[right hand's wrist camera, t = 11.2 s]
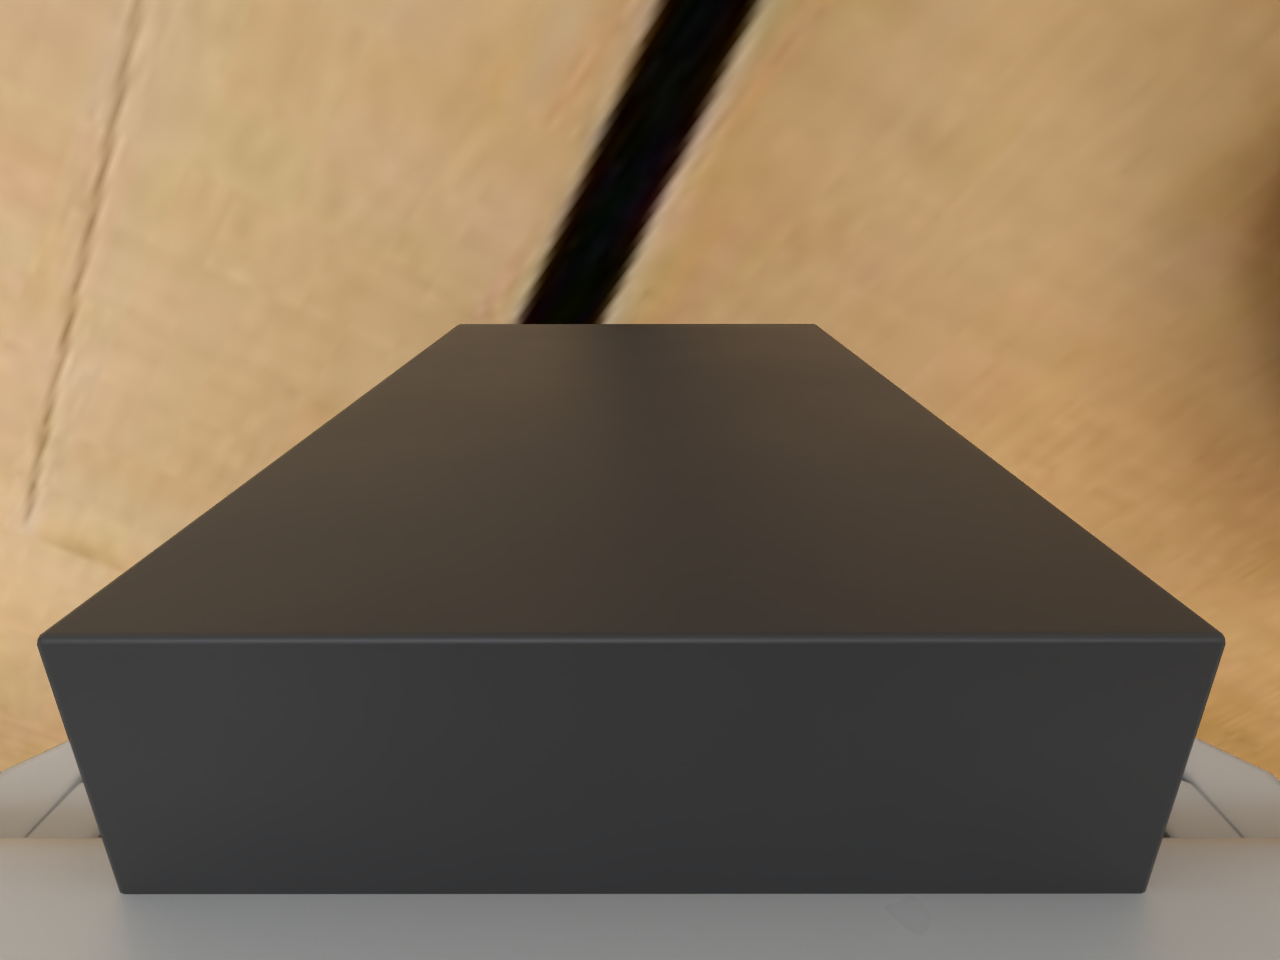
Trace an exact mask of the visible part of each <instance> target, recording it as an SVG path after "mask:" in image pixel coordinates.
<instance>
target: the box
mask: <svg viewBox="0 0 1280 960" xmlns="http://www.w3.org/2000/svg"><path fill="white" fill-rule="evenodd" d="M37 646H38V649H39V652H40V655H41V658H42V661H43V664H44V667H45V670H46V673H47V676H48V679H49V682H50V685H51V688H52V691H53V694H54V697H55V700H56V703H57V706H58V709H59V712H60V715H61V718H62V721H63V724H64V727H65V730H66V733H67V736H68V739H69V742H70V745H71V748H72V751H73V754H74V757H75V760H76V763H77V766H78V769H79V772H80V775H81V778H82V781H83V784H84V787H85V790H86V793H87V796H88V799H89V802H90V805H91V808H92V811H93V814H94V817H95V820H96V823H97V825H98V828H99V831H100V834H101V837H102V840H103V843H104V846H105V849H106V852H107V855H108V858H109V861H110V864H111V867H112V870H113V873H114V876H115V879H116V882H117V885H118V888H119V891H120V893H123V894H1141V893H1144V892H1145V891H1146V888H1147V885H1148V882H1149V879H1150V876H1151V873H1152V870H1153V867H1154V863H1155V860H1156V857H1157V854H1158V851H1159V848H1160V845H1161V842H1162V839H1163V836H1164V832H1165V829H1166V826H1167V823H1168V820H1169V817H1170V814H1171V811H1172V808H1173V805H1174V802H1175V798H1176V795H1177V792H1178V789H1179V786H1180V783H1181V780H1182V777H1183V774H1184V771H1185V767H1186V764H1187V761H1188V758H1189V755H1190V752H1191V749H1192V746H1193V743H1194V740H1195V737H1196V733H1197V730H1198V727H1199V724H1200V721H1201V718H1202V715H1203V712H1204V709H1205V706H1206V702H1207V699H1208V696H1209V693H1210V690H1211V687H1212V684H1213V681H1214V678H1215V675H1216V672H1217V668H1218V665H1219V662H1220V659H1221V656H1222V653H1223V650H1224V647H1225V638H1224V636H1223V634H1222V633H1221V632H1219V631H1218V630H1217V629H1215V628H1214V627H1213V626H1211V625H1210V624H1209V623H1207V622H1206V621H1205V620H1203V619H1202V618H1201V617H1200V616H1198V615H1197V614H1196V613H1194V612H1193V611H1192V610H1190V609H1189V608H1188V607H1186V606H1185V605H1184V604H1182V603H1181V602H1180V601H1178V600H1177V599H1176V598H1175V597H1173V596H1172V595H1171V594H1169V593H1168V592H1167V591H1165V590H1164V589H1163V588H1161V587H1160V586H1159V585H1157V584H1156V583H1155V582H1153V581H1152V580H1151V579H1150V578H1148V577H1147V576H1146V575H1144V574H1143V573H1142V572H1140V571H1139V570H1138V569H1136V568H1135V567H1134V566H1132V565H1131V564H1130V563H1129V562H1127V561H1126V560H1125V559H1123V558H1122V557H1121V556H1119V555H1118V554H1117V553H1115V552H1114V551H1113V550H1111V549H1110V548H1109V547H1107V546H1106V545H1105V544H1104V543H1102V542H1101V541H1100V540H1098V539H1097V538H1096V537H1094V536H1093V535H1092V534H1090V533H1089V532H1088V531H1086V530H1085V529H1084V528H1082V527H1081V526H1080V525H1079V524H1077V523H1076V522H1075V521H1073V520H1072V519H1071V518H1069V517H1068V516H1067V515H1065V514H1064V513H1063V512H1061V511H1060V510H1059V509H1057V508H1056V507H1055V506H1054V505H1052V504H1051V503H1050V502H1048V501H1047V500H1046V499H1044V498H1043V497H1042V496H1040V495H1039V494H1038V493H1036V492H1035V491H1034V490H1032V489H1031V488H1030V487H1029V486H1027V485H1026V484H1025V483H1023V482H1022V481H1021V480H1019V479H1018V478H1017V477H1015V476H1014V475H1013V474H1011V473H1010V472H1009V471H1007V470H1006V469H1005V468H1004V467H1002V466H1001V465H1000V464H998V463H997V462H996V461H994V460H993V459H992V458H990V457H989V456H988V455H986V454H985V453H984V452H983V451H981V450H980V449H979V448H977V447H976V446H975V445H973V444H972V443H971V442H969V441H968V440H967V439H965V438H964V437H963V436H961V435H960V434H959V433H958V432H956V431H955V430H954V429H952V428H951V427H950V426H948V425H947V424H946V423H944V422H943V421H942V420H940V419H939V418H938V417H936V416H935V415H934V414H933V413H931V412H930V411H929V410H927V409H926V408H925V407H923V406H922V405H921V404H919V403H918V402H917V401H915V400H914V399H913V398H911V397H910V396H909V395H908V394H906V393H905V392H904V391H902V390H901V389H900V388H898V387H897V386H896V385H894V384H893V383H892V382H890V381H889V380H888V379H886V378H885V377H884V376H883V375H881V374H880V373H879V372H877V371H876V370H875V369H873V368H872V367H871V366H869V365H868V364H867V363H865V362H864V361H863V360H862V359H860V358H859V357H858V356H856V355H855V354H854V353H852V352H851V351H850V350H848V349H847V348H846V347H844V346H843V345H842V344H840V343H839V342H838V341H837V340H835V339H834V338H833V337H831V336H830V335H829V334H827V333H826V332H825V331H823V330H822V329H821V328H819V327H818V326H817V325H815V324H460V325H458V326H456V327H455V328H453V329H452V330H451V331H449V332H448V333H447V334H445V335H444V336H443V337H441V338H440V339H439V340H437V341H436V342H435V343H433V344H432V345H431V346H429V347H428V348H427V349H425V350H424V351H422V352H421V353H420V354H418V355H417V356H416V357H414V358H413V359H412V360H410V361H409V362H408V363H406V364H405V365H404V366H402V367H401V368H400V369H398V370H397V371H396V372H394V373H393V374H391V375H390V376H389V377H387V378H386V379H385V380H383V381H382V382H381V383H379V384H378V385H377V386H375V387H374V388H373V389H371V390H370V391H369V392H367V393H366V394H365V395H363V396H362V397H360V398H359V399H358V400H356V401H355V402H354V403H352V404H351V405H350V406H348V407H347V408H346V409H344V410H343V411H342V412H340V413H339V414H338V415H336V416H335V417H333V418H332V419H331V420H329V421H328V422H327V423H325V424H324V425H323V426H321V427H320V428H319V429H317V430H316V431H315V432H313V433H312V434H311V435H309V436H308V437H307V438H305V439H304V440H302V441H301V442H300V443H298V444H297V445H296V446H294V447H293V448H292V449H290V450H289V451H288V452H286V453H285V454H284V455H282V456H281V457H280V458H278V459H277V460H276V461H274V462H273V463H271V464H270V465H269V466H267V467H266V468H265V469H263V470H262V471H261V472H259V473H258V474H257V475H255V476H254V477H253V478H251V479H250V480H249V481H247V482H246V483H244V484H243V485H242V486H240V487H239V488H238V489H236V490H235V491H234V492H232V493H231V494H230V495H228V496H227V497H226V498H224V499H223V500H222V501H220V502H219V503H218V504H216V505H215V506H213V507H212V508H211V509H209V510H208V511H207V512H205V513H204V514H203V515H201V516H200V517H199V518H197V519H196V520H195V521H193V522H192V523H191V524H189V525H188V526H187V527H185V528H184V529H182V530H181V531H180V532H178V533H177V534H176V535H174V536H173V537H172V538H170V539H169V540H168V541H166V542H165V543H164V544H162V545H161V546H160V547H158V548H157V549H156V550H154V551H153V552H151V553H150V554H149V555H147V556H146V557H145V558H143V559H142V560H141V561H139V562H138V563H137V564H135V565H134V566H133V567H131V568H130V569H129V570H127V571H126V572H124V573H123V574H122V575H120V576H119V577H118V578H116V579H115V580H114V581H112V582H111V583H110V584H108V585H107V586H106V587H104V588H103V589H102V590H100V591H99V592H98V593H96V594H95V595H93V596H92V597H91V598H89V599H88V600H87V601H85V602H84V603H83V604H81V605H80V606H79V607H77V608H76V609H75V610H73V611H72V612H71V613H69V614H68V615H67V616H65V617H64V618H62V619H61V620H60V621H58V622H57V623H56V624H54V625H53V626H52V627H50V628H49V629H48V630H46V631H45V632H44V633H42V634H41V635H40V636H39V638H38V642H37Z"/></svg>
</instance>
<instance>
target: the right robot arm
mask: <svg viewBox="0 0 1280 960" xmlns="http://www.w3.org/2000/svg"><path fill="white" fill-rule="evenodd" d="M0 960H1280V781H1279V780H1278V779H1277V778H1276V777H1275V776H1274V775H1272V774H1271V773H1269V772H1267V771H1265V770H1263V769H1261V768H1259V767H1256V766H1254V765H1252V764H1250V763H1248V762H1246V761H1244V760H1242V759H1239V758H1237V757H1235V756H1233V755H1231V754H1229V753H1227V752H1225V751H1223V750H1220V749H1218V748H1216V747H1214V746H1212V745H1210V744H1208V743H1206V742H1203V741H1201V740H1199V739H1197V738H1195V740H1194V743H1193V746H1192V749H1191V752H1190V755H1189V758H1188V761H1187V764H1186V767H1185V771H1184V774H1183V777H1182V780H1181V783H1180V786H1179V789H1178V792H1177V795H1176V798H1175V802H1174V805H1173V808H1172V811H1171V814H1170V817H1169V820H1168V823H1167V826H1166V829H1165V832H1164V836H1163V839H1162V842H1161V845H1160V848H1159V851H1158V854H1157V857H1156V860H1155V863H1154V867H1153V870H1152V873H1151V876H1150V879H1149V882H1148V885H1147V888H1146V891H1145V892H1144V893H1141V894H123V893H120V891H119V888H118V885H117V882H116V879H115V876H114V873H113V870H112V867H111V864H110V861H109V858H108V855H107V852H106V849H105V846H104V843H103V840H102V837H101V834H100V831H99V828H98V825H97V823H96V820H95V817H94V814H93V811H92V808H91V805H90V802H89V799H88V796H87V793H86V790H85V787H84V784H83V781H82V778H81V775H80V772H79V769H78V766H77V763H76V760H75V757H74V754H73V751H72V748H71V745H70V742H69V741H66V742H64V743H62V744H60V745H58V746H56V747H54V748H51V749H49V750H47V751H45V752H43V753H41V754H39V755H36V756H34V757H32V758H30V759H28V760H26V761H23V762H21V763H19V764H17V765H15V766H13V767H11V768H8V769H6V770H4V771H2V772H0Z"/></svg>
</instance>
